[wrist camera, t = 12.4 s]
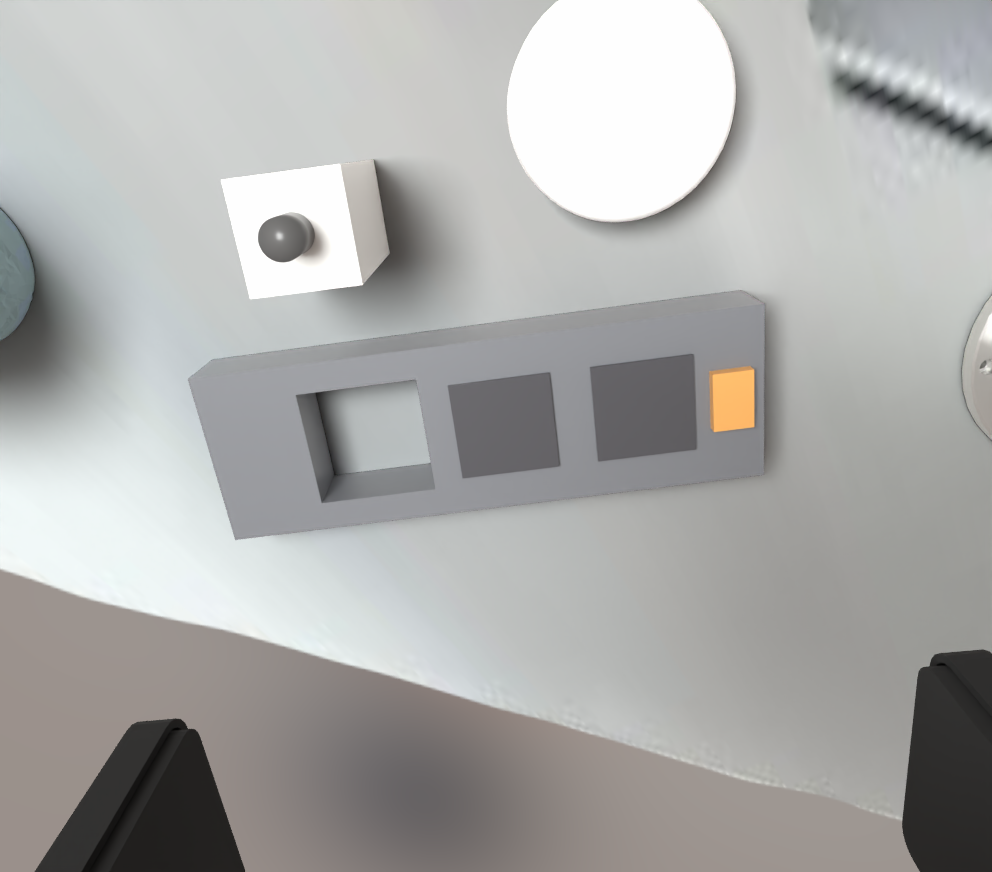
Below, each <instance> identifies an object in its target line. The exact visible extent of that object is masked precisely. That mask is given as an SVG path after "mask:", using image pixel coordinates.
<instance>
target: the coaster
mask: <svg viewBox="0 0 992 872" xmlns="http://www.w3.org/2000/svg"><path fill="white" fill-rule="evenodd" d="M735 102H736V81H735V71H734V66H733V61H732V57H731V54H730V51H729V48H728V45H727V42H726V40H725V38H724V36H723V34H722V31H721V29H720V28H719V26H718V24H717V23H716V21H715V20H714V18H713V17H712V15H711V14H710V13H709V12H708V11H707V9H706V8H705V7H704V6H703V5H702V4H701V3H700V2H699V1H698V0H558V1H557V2H556V3H554V4H553V5H552V6H551V7H550V8H549V9H548V10H547V11H546V12H545V13H544V14H543V15H542V17H541V18H540V19H539V21H538V22H537V23H536V24H535V26H534V27H533V28H532V30H531V32H530V33H529V35H528V37H527V38H526V40H525V42H524V43H523V46H522V48H521V50H520V52H519V55H518V57H517V59H516V62H515V64H514V68H513V71H512V75H511V78H510V83H509V89H508V97H507V117H508V127H509V132H510V137H511V140H512V144H513V147H514V150H515V152H516V155H517V157H518V159H519V161H520V163H521V165H522V167H523V168H524V170H525V172H526V173H527V175H528V176H529V178H530V179H531V180H532V182H533V183H534V184H535V185H536V186H537V187H538V188H539V189H540V190H541V191H542V192H543V193H544V194H545V195H546V196H547V197H548V198H549V199H551V200H552V201H553V202H555V203H556V204H557V205H559V206H560V207H562V208H563V209H565V210H567V211H569V212H571V213H573V214H575V215H578V216H580V217H583V218H586V219H590V220H595V221H600V222H628V221H633V220H638V219H643V218H646V217H649V216H652V215H654V214H657V213H659V212H661V211H663V210H665V209H667V208H669V207H671V206H672V205H674V204H675V203H677V202H678V201H680V200H681V199H683V198H684V197H685V196H686V195H688V194H689V193H690V192H691V191H692V190H693V189H695V187H696V186H697V185H698V184H699V183H700V182H701V181H702V180H703V179H704V178H705V176H706V175H707V174H708V172H709V171H710V169H711V168H712V167H713V165H714V164H715V162H716V160H717V159H718V157H719V155H720V153H721V151H722V149H723V147H724V145H725V142H726V140H727V137H728V135H729V132H730V128H731V124H732V120H733V116H734V109H735Z"/></svg>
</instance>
